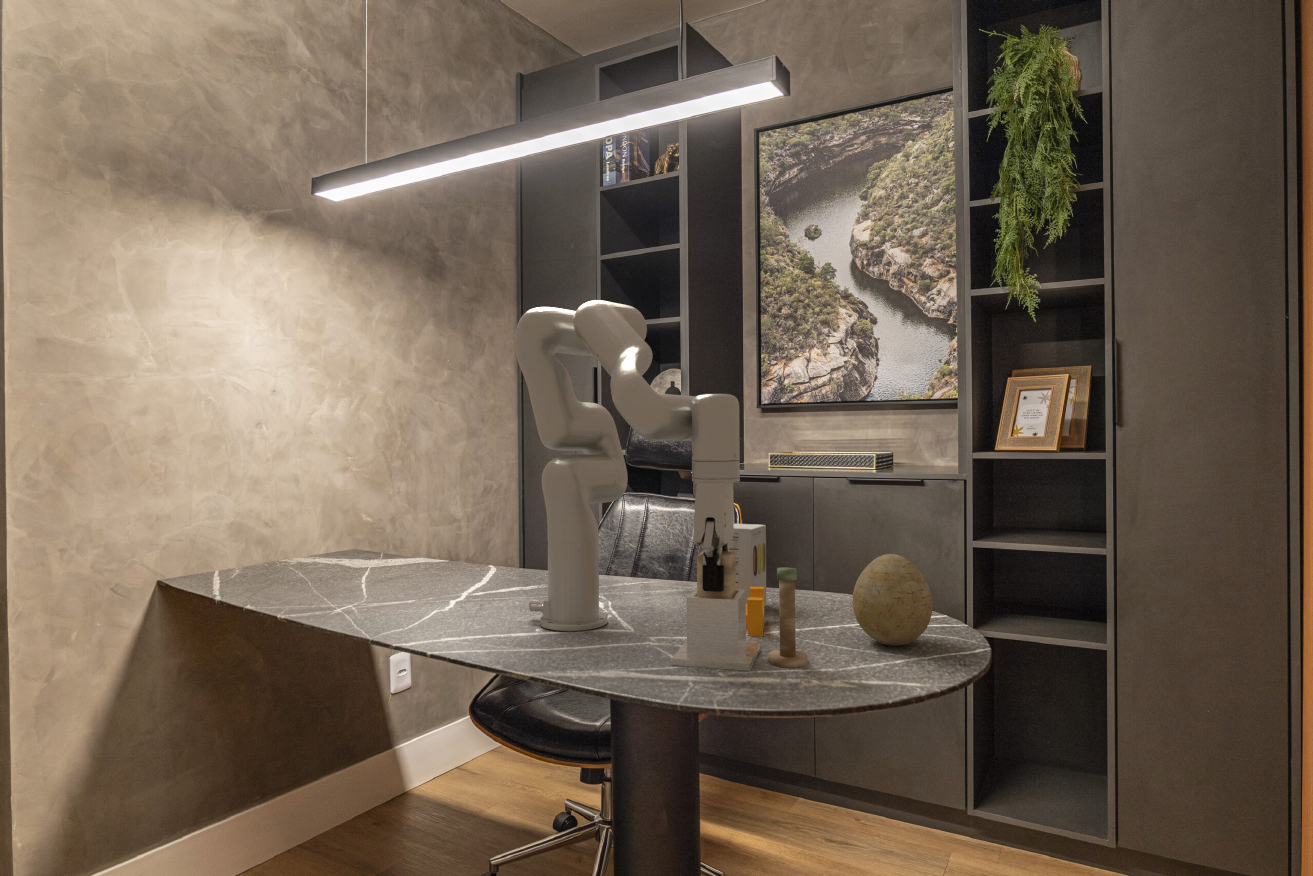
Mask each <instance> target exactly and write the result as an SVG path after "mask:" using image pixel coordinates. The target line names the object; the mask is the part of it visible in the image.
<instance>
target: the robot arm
mask: <svg viewBox="0 0 1313 876" xmlns="http://www.w3.org/2000/svg"><path fill="white" fill-rule="evenodd" d="M647 327H648V326H647V321H646V318H645V317H644V316H643V314H642V313H641V312H640V310H638V309H637V308H635V307H633V306H631V305H627V304H622V303H619V302H618V303H617V302H613V301H612V302H611V301H607V300H600V299H599V300H597V299H594V300H590V301H587V302H585V303H582V304H580V306H579V307H578V308H577V309H576V310H573V309H572V310H571V309H565V308H561V307H560V308H559V307H551V306H540V307H539V306H538V307H534V308H531V309H528V310H527V311H525V313H523V314H522V316H521V317H520V319H519V321H518V322H517V326H516V327H515V328H516V329H515V332H514V333H515V334H514V350H515V351H514V352H515V354H516V355H515V356H516V359H517V363H518V365H519V368H520V370H521V372H522V375H523V377H524V380H525V384H526V386H527V390H528V395H529V399H530V404H531V408H532V412H533V416H534V421H535V426H536V428H537V433H538V436H539V438H540V442H541V443H542V444H543V446H544V447H545V448H547V449H549V450H552V451H561V452H562V451H563V452H564V451H569V452H570V451H582V453H583V454H566V455H565V454H564V455H561V456H557V457H554V458H553V459H551V460H550V461H549V462H548V463H547V464H546V465H545V467H544V468H543V471H542V474H541V489H542V494H543V499H544V505H545V511H546V523H547V524H546V525H547V529H546V530H547V598H545V599H543V600H542V599H534V598H532V599H530V600H529V604H528V607H529V610H530V612H540V613H542V616H541V617H539V625H540V627H542V628H544V629H547V630H552V631H557V632H559V631H562V632H579V631H581V632H582V631H588V630H594V629H599V628H601V627H603V626H605V625H607V623H608V615H607V614H606V613H603V612H602V611H600V577H599V576H600V574H599V573H600V568H599V567H600V566H599V561H600V559H599V558H600V556H599V555H600V553H599V551H600V550H599V546H600V545H599V542H600V541H599V539H600V538H599V525H598V522H597V519H596V517H595V515H594V512H593V511H592V509H591V506H590V505H597V504H606V503H612V502H615V501H617V500H619V499H620V498H621V497H623V495H624V494H625V492H626V490H627V486H628V481H629V480H628V469H627V464H626V461H625V456H624V452H623V449H622V445H621V442H620V437H619V434H618V429H617V426H616V422H615V420H614V418H613V416H612V414H611V413H610V411H609V410H607V409H608V408H606V407H605V406H603V405H601V404H599V403H595V402H589V401H587V402H584V401H580V400H578V398H577V396H576V394H575V390H574V386H573V381H572V378H571V376H570V373H569V372H568V370H567V369H566V367H565V366H564V365H563V363H562V362H561V361H560V360H559V359H558V357H557V355H556V354H564V355H565V354H566V355H574V356H575V355H576V356H583V357H584V356H585V357H586V356H587V357H588V356H589V357H590V356H591V357H594V358H595V360H597V361H598V362H599V364H600V365H601V366H602V367H603V369H604V370H605V371H606V372H607V374H608V375H609V376H610V377H611V378H610V393H611V397H612V398H611V399H612V402H613V404H614V406H615V408H616V411H617V412H618V413H619V414H620V416H621V417H622V418H623V420H625V422H626V423H627V424H628V425H629V426H630V427H631V429H632V430H633V431H634V432H635V433H636V434H638V435H640V436H641V437H642V438H643V439H647V440H649V441H657V442H658V441H661V442H662V441H663V442H665V441H675V442H688V441H691V477H692V478H691V481H692V482H693V483H696V485H695V486H696V487H695V495H694V514H693V515H694V517H693V518H694V520H693V544H694V545H695V546H698V547H699V546H701V545H702V544H703V547H702V548H703V550H702V551H703V565H702V566H703V590H704V591H714V592H722V591H723V590H724V565H721V564H722V551H729V541H730V540H731V539H732V538H733V532H734V524H735V521H734V520H735V511H734V510H735V507H734V505H735V503H734V494H735V492H734V483H739V482H741V478H740V476H741V474H740V470H741V469H740V467H741V466H740V460H741V459H740V451H741V450H740V447H741V446H740V403H739V400H738V398H737V397H736V396H735V395H733V394H730V393H705V394H699V395H696V396H695V395H693V396H692V395H684V394H683V395H681V394H668V393H658V392H657V391H656V390H654V389H653V387H652V386H651V385H650V384H649V383H648V382H647V380H646V379H645V378H644V377H643V375H645V373H647V371H648V369H649V368H650V366H651V364H652V361H653V351H652V348H651V347H650V345H649V344H648V343H647V342H646V341H645V339H646V337H647V333H648V328H647ZM716 551H717V552H716Z"/></svg>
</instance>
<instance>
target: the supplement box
mask: <svg viewBox="0 0 1313 876" xmlns="http://www.w3.org/2000/svg"><path fill="white" fill-rule="evenodd" d="M729 551H730V552H735V564H736V589H742V590H746V603H747V599H748V597H750V587H764V608H765V607H767V526H766V524H756V523H755V524H754V523H753V524H749V523H734V532H733V538H732V539H731V540H730V541H729Z"/></svg>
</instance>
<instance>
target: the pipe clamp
mask: <svg viewBox="0 0 1313 876" xmlns="http://www.w3.org/2000/svg"><path fill="white" fill-rule="evenodd" d="M764 624H765V607H764V587H750V597H748V599H747V603H746V629H747V637H763V634H764V628H765V627H764V626H765V625H764Z"/></svg>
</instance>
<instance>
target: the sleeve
mask: <svg viewBox="0 0 1313 876" xmlns="http://www.w3.org/2000/svg"><path fill="white" fill-rule="evenodd" d="M760 650H761V642H752V641H747V628H746V590H742V589H736V595H735V597H734V598H714V597H697V587H696V588H695V589H694V590H693V591H692V592H690V594H689V595H687V596H686V641H685V642H684V643H683V644H682V645H681V646H680V648H679V649H678V651H676V652H675V654H674V655H673V656H672V657H671V660H670V662H671V663H670V664H671V665H670V666H676V667H677V666H678V667H693V668H707V669H719V670H731V671H732V670H733V671H747V672H748V671H751V670H752V667H753V665H754V663H755V661H756V659H757V657H758V654H759V653H760Z"/></svg>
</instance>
